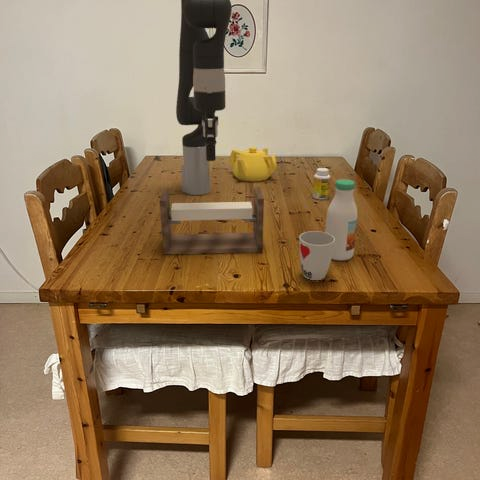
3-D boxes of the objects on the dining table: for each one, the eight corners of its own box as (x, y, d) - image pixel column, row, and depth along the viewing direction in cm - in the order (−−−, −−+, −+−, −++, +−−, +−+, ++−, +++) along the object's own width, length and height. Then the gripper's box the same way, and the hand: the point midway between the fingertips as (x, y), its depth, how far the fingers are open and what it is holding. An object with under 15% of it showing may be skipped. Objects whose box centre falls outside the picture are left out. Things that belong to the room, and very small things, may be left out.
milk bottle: (335, 263, 117) (343, 187, 109) (317, 251, 123) (323, 179, 115) (359, 257, 120) (368, 183, 112) (340, 246, 126) (347, 175, 118)
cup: (294, 268, 114) (296, 231, 110) (326, 267, 115) (329, 230, 111) (300, 285, 107) (303, 245, 103) (335, 283, 108) (339, 244, 104)
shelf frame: (163, 255, 121) (159, 200, 115) (166, 239, 130) (163, 188, 124) (262, 252, 123) (263, 198, 116) (258, 237, 132) (259, 186, 126)
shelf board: (171, 220, 120) (170, 209, 119) (172, 213, 125) (172, 203, 123) (252, 219, 121) (252, 208, 120) (250, 212, 126) (250, 201, 125)
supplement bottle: (319, 201, 160) (322, 172, 156) (309, 196, 164) (311, 168, 160) (331, 198, 163) (334, 169, 158) (321, 194, 167) (323, 166, 163)
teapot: (278, 182, 180) (279, 151, 175) (236, 184, 177) (236, 153, 172) (266, 170, 195) (267, 142, 190) (227, 172, 192) (227, 143, 187)
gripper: (194, 85, 116) (196, 149, 122) (192, 92, 103) (195, 164, 109) (224, 85, 116) (225, 149, 123) (226, 92, 103) (226, 163, 110)
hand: (210, 156), depth 116 cm, fingers open, 8 cm apart
